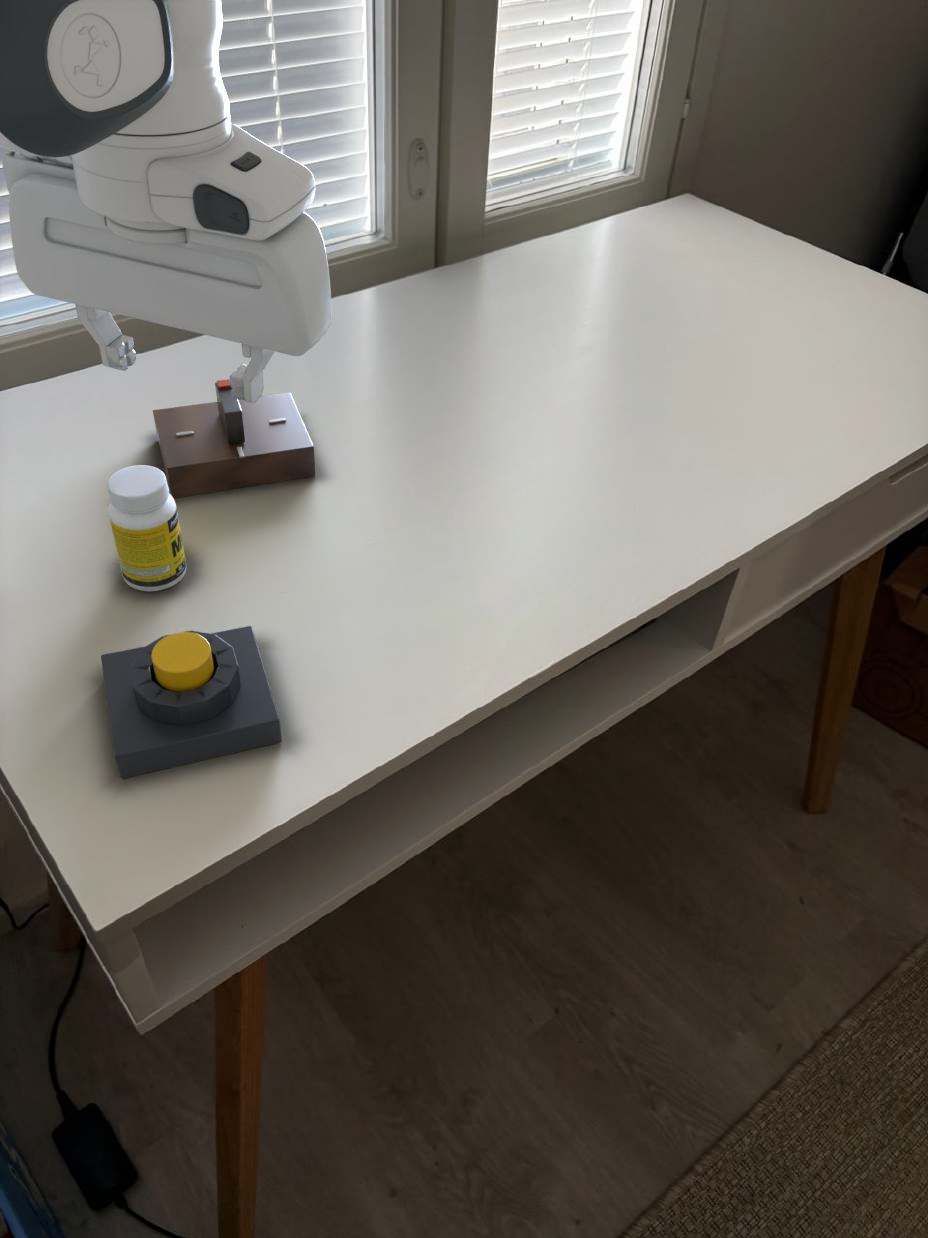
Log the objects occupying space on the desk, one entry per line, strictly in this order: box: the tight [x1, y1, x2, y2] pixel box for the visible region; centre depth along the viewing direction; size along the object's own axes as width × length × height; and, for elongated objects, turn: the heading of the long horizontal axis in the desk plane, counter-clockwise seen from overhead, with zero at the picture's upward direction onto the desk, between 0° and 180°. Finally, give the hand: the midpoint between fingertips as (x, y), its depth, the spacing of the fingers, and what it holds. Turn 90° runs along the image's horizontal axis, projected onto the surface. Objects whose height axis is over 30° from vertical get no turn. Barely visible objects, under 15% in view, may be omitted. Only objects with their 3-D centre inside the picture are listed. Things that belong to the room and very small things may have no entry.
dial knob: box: [214, 378, 245, 444], centre depth 84 cm, size 5×1×3 cm, turn 20°
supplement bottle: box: [107, 464, 187, 593], centre depth 73 cm, size 5×5×8 cm
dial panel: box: [152, 391, 316, 499], centre depth 86 cm, size 12×9×3 cm
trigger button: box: [151, 631, 214, 692], centre depth 63 cm, size 4×4×2 cm
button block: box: [100, 625, 283, 779], centre depth 65 cm, size 10×9×4 cm
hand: (183, 380), depth 67 cm, fingers open, 8 cm apart
